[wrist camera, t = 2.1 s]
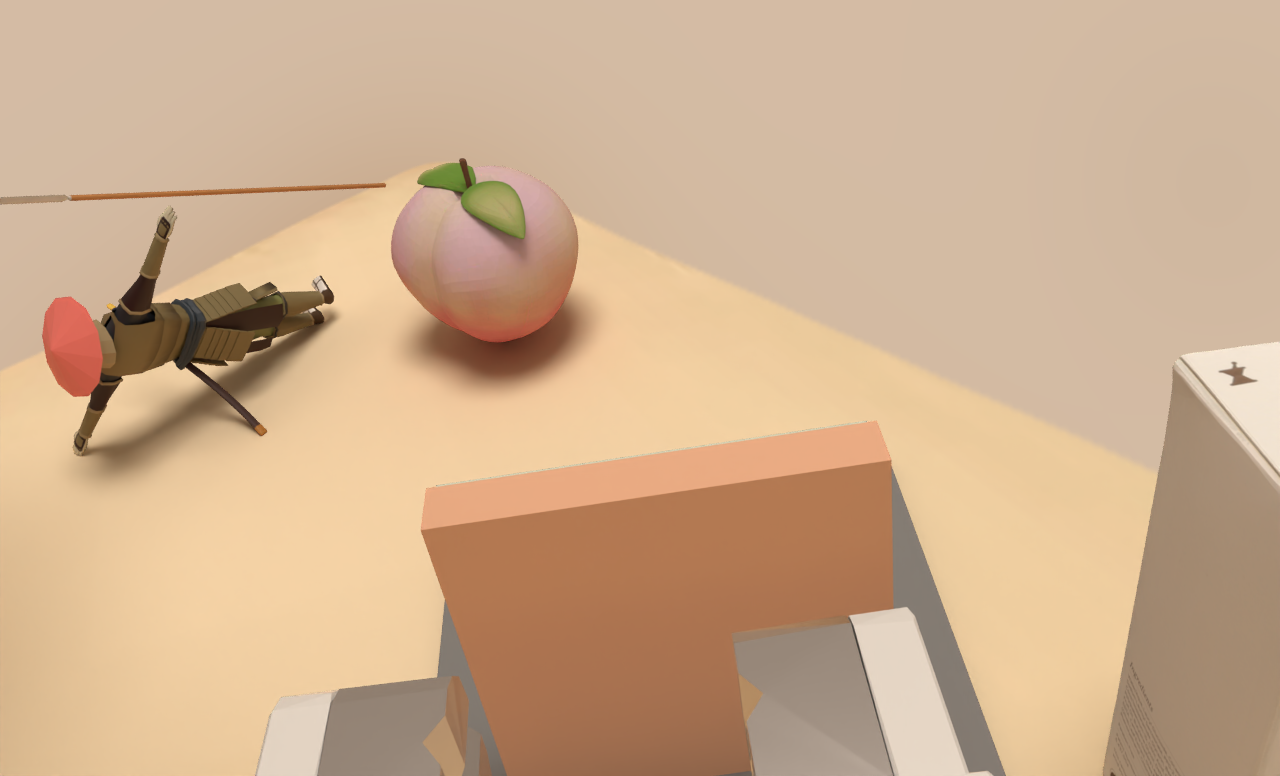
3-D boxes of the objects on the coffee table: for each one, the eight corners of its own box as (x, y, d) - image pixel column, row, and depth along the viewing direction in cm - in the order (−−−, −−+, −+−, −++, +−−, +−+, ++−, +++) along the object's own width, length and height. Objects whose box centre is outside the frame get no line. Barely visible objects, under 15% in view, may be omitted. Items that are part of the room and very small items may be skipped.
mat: (400, 1106, 30) (395, 1098, 30) (455, 527, 48) (452, 519, 48) (1089, 1015, 30) (1091, 1006, 29) (887, 463, 47) (887, 454, 47)
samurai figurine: (338, 480, 64) (-27, 595, 48) (238, 361, 67) (-138, 431, 51) (462, 260, 57) (77, 307, 40) (343, 136, 60) (-62, 133, 43)
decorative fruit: (632, 321, 58) (600, 140, 52) (514, 406, 54) (465, 219, 48) (510, 272, 64) (469, 104, 58) (394, 346, 60) (337, 171, 54)
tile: (517, 803, 36) (420, 530, 29) (518, 752, 38) (427, 480, 31) (895, 750, 36) (891, 459, 29) (881, 700, 38) (874, 413, 30)
